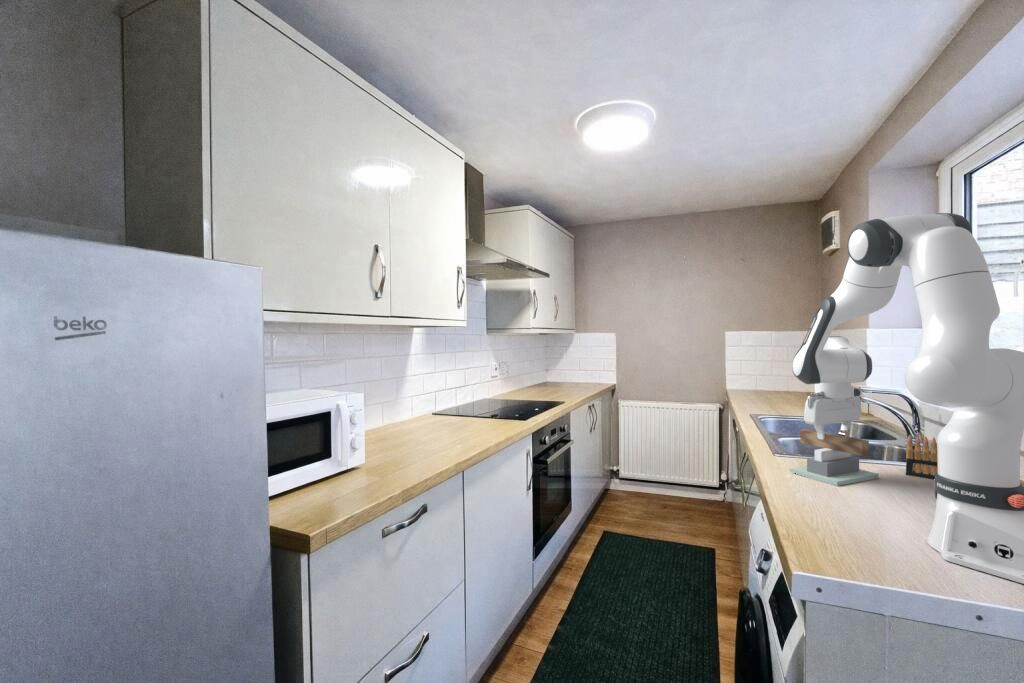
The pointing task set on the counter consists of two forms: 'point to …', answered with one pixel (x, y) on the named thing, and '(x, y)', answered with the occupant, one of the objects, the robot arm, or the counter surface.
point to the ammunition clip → (921, 458)
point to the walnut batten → (836, 442)
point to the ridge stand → (834, 468)
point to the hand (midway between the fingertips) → (832, 437)
